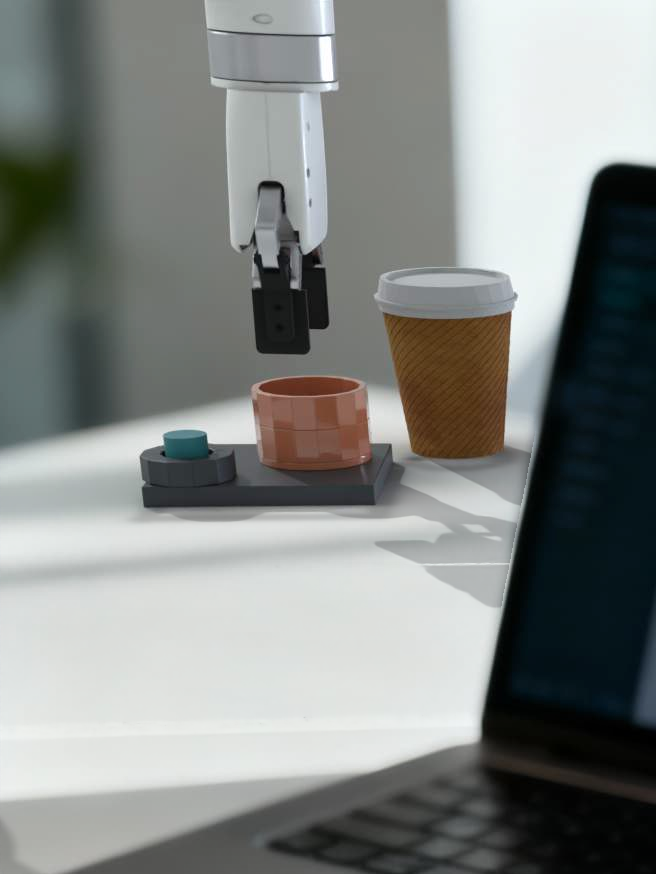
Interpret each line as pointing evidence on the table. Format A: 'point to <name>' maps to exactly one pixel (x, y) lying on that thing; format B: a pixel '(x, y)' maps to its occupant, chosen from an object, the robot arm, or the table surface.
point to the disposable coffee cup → (450, 356)
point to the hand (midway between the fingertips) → (294, 340)
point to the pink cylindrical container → (312, 422)
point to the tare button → (186, 444)
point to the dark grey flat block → (256, 480)
